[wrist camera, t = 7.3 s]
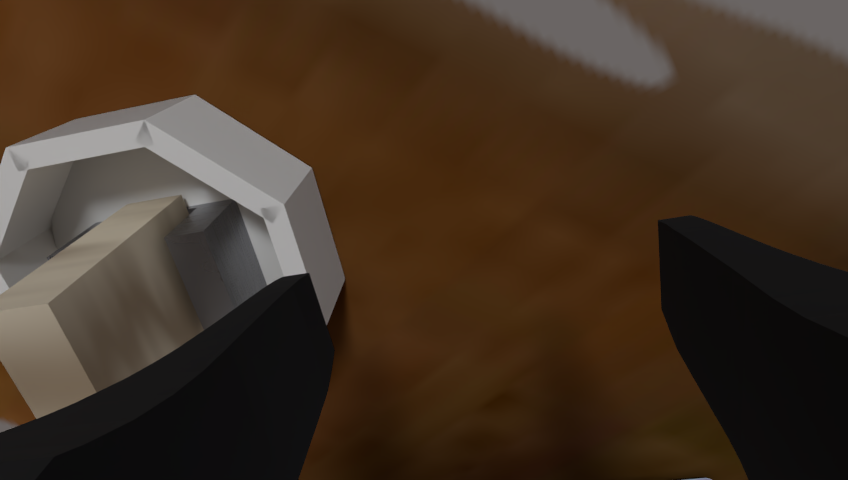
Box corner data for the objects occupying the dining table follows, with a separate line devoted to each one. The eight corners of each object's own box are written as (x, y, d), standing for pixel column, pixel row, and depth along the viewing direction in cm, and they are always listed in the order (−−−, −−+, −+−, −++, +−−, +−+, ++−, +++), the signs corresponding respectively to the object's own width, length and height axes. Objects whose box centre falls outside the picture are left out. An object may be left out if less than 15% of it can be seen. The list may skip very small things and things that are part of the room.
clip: (269, 290, 23) (243, 332, 21) (137, 309, 24) (97, 352, 22) (235, 198, 22) (203, 231, 19) (95, 222, 23) (46, 257, 20)
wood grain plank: (227, 309, 23) (128, 450, 17) (177, 316, 24) (60, 457, 17) (181, 194, 21) (47, 303, 15) (127, 204, 22) (-28, 314, 15)
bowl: (365, 347, 25) (349, 404, 22) (123, 378, 27) (75, 435, 24) (284, 76, 20) (248, 98, 17) (-4, 135, 22) (-86, 165, 19)
